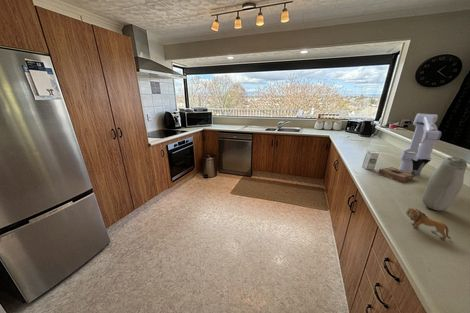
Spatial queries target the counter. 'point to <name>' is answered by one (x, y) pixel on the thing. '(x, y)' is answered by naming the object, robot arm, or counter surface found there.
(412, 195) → the counter surface
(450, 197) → the white vase
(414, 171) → the grey cylinder
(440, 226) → the lion figurine
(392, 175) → the bead block
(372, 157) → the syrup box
